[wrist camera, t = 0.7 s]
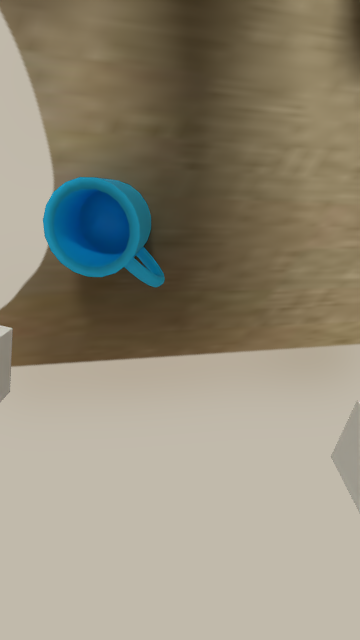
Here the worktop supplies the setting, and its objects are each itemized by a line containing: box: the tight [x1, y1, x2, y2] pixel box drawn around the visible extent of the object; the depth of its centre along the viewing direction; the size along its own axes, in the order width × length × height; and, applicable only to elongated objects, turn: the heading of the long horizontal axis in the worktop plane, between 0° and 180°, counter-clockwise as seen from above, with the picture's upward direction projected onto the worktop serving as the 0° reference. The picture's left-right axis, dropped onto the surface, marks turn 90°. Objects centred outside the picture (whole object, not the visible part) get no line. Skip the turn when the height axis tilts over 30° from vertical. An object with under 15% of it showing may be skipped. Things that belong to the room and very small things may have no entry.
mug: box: [43, 177, 165, 287], centre depth 33 cm, size 12×8×8 cm
